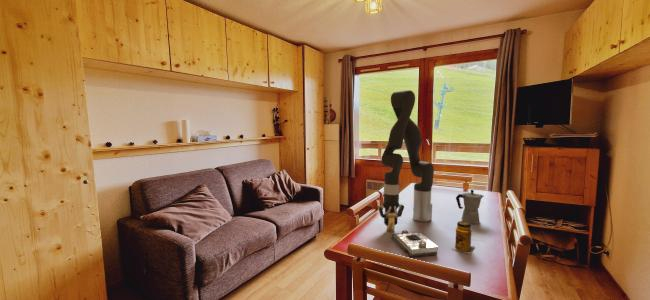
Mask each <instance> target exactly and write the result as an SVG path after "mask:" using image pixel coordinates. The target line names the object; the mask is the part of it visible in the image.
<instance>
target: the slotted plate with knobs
mask: <svg viewBox="0 0 650 300" xmlns="http://www.w3.org/2000/svg"><path fill="white" fill-rule="evenodd" d="M391 240H393V241H394V242H395V243H396V244H397V246H399V247H400V248H401V249H402V251H404V253H408V257H409V258H414V257H415V258H416V257H424V256H425V257H426V256H434V255H435V256H436V255H437V254H438V252H439V246H438V245H437V244H435V242H433V241H432V240H431V239H429V238H428V237H427V236H425V235H424V234H422V232H415V231H411V232H409V231H408V230H404V229H403V230H401V232H400V233H399V232H398V233H391Z"/></svg>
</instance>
